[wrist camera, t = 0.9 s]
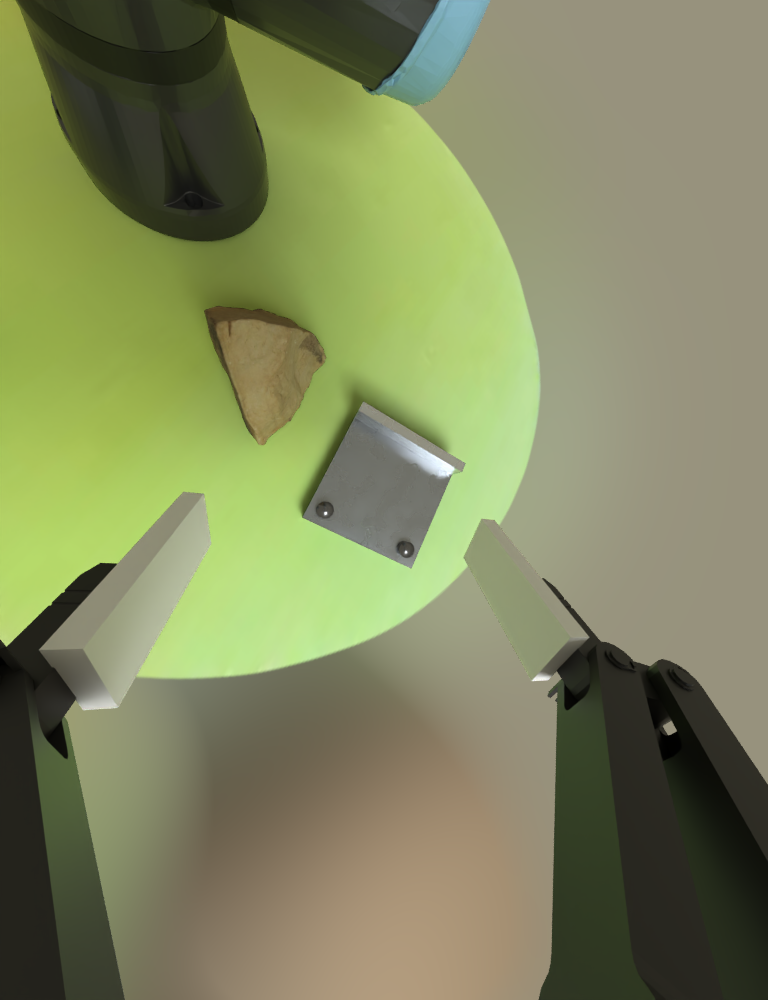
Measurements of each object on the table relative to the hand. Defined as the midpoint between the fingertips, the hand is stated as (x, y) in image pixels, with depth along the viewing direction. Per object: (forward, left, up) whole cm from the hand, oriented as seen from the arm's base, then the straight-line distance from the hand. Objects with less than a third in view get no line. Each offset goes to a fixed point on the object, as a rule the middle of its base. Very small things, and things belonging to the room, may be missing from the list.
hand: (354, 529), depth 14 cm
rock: (-10, -9, -15) cm, 20 cm away
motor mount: (-5, +4, -15) cm, 16 cm away
